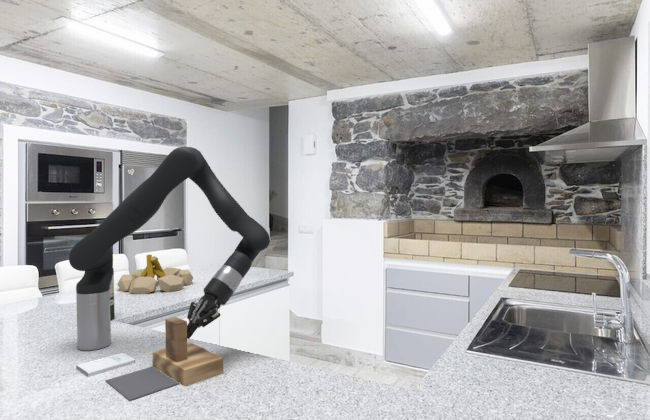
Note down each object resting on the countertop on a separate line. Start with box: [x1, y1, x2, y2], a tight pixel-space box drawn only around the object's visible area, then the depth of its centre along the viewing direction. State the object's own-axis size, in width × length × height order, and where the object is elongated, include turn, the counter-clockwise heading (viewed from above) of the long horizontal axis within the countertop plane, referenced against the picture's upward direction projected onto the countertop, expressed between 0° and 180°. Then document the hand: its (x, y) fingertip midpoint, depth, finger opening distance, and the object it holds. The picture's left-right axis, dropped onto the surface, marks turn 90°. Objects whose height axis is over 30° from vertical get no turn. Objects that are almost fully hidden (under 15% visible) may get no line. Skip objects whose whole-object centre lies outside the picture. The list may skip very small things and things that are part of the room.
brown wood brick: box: [164, 316, 188, 362], centre depth 113 cm, size 6×3×10 cm, turn 46°
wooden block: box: [151, 341, 224, 387], centre depth 115 cm, size 18×11×4 cm, turn 46°
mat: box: [105, 366, 180, 402], centre depth 107 cm, size 15×12×1 cm
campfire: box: [116, 254, 194, 295], centre depth 220 cm, size 35×34×17 cm
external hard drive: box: [75, 352, 136, 378], centre depth 118 cm, size 2×8×12 cm
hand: (184, 336), depth 115 cm, fingers closed
